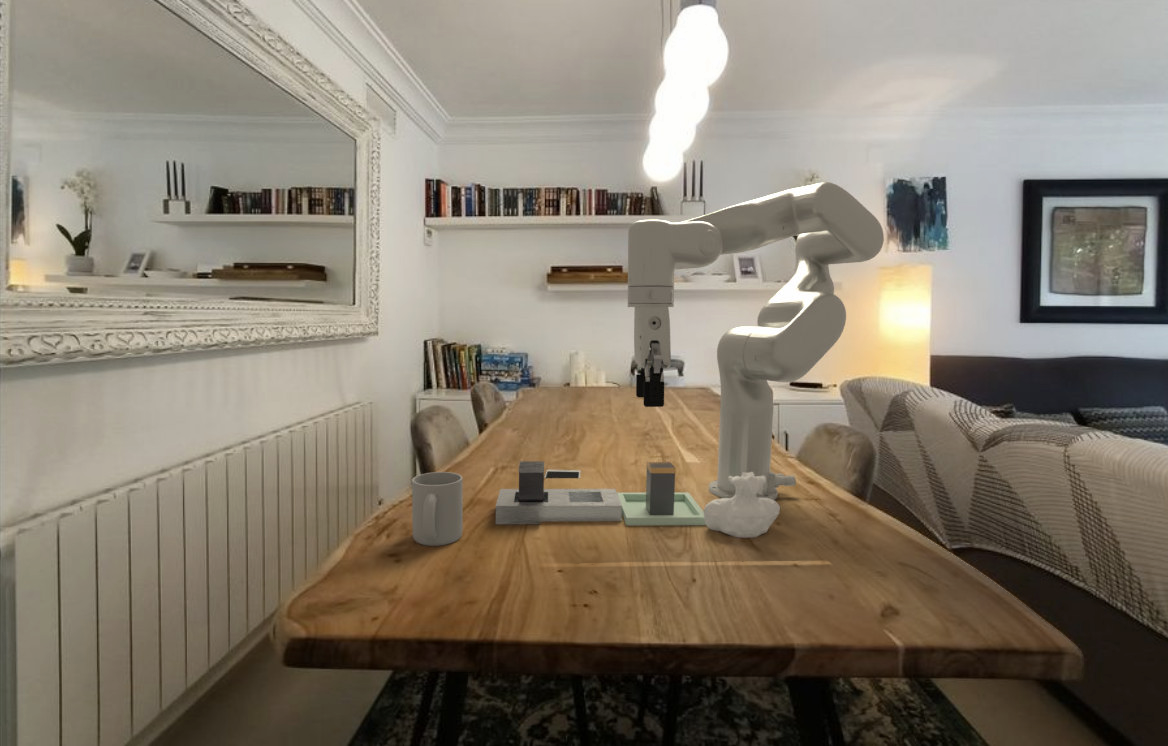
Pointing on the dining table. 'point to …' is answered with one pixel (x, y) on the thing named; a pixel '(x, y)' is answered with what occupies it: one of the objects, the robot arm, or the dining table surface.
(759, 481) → the white tied sack
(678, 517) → the tray
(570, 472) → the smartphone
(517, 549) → the dining table surface
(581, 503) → the pdu strip
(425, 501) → the cup
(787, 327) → the robot arm
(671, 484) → the rectangular block
